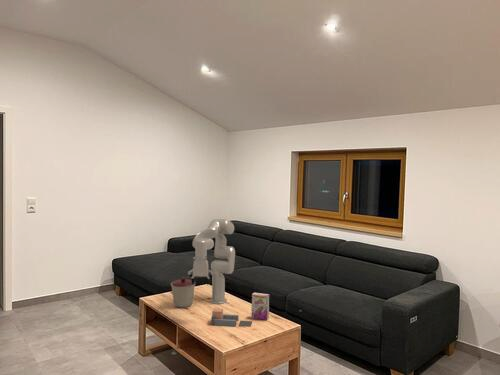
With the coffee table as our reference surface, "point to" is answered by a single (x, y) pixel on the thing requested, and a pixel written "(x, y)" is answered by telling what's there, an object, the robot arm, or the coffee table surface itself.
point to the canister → (183, 292)
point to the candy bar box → (260, 306)
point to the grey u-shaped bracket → (225, 320)
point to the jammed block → (218, 313)
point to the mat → (245, 323)
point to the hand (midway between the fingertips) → (200, 284)
